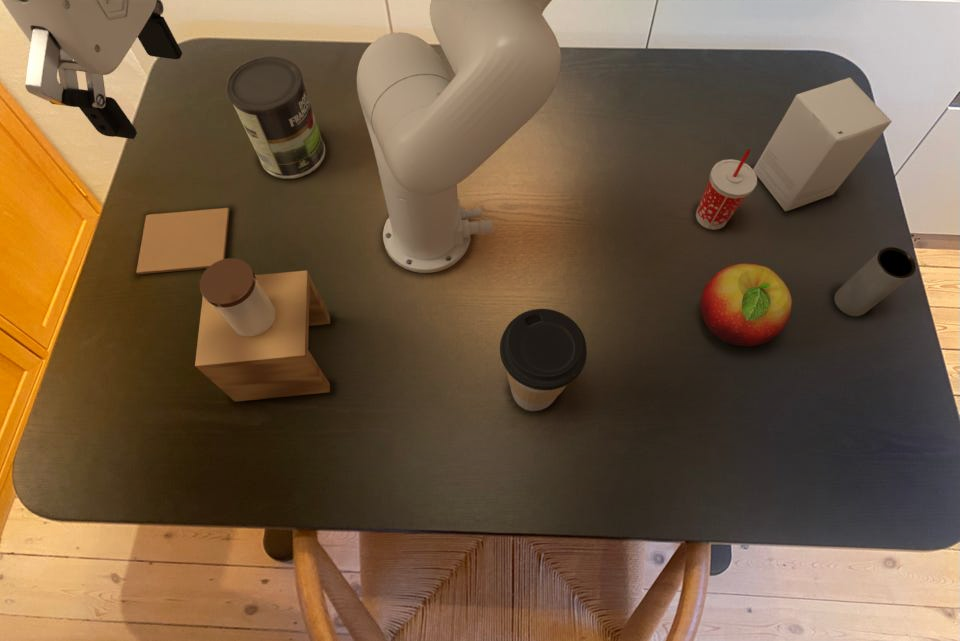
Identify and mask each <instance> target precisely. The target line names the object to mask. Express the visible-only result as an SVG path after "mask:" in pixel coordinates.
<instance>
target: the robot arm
mask: <svg viewBox="0 0 960 641" xmlns="http://www.w3.org/2000/svg"><path fill="white" fill-rule="evenodd" d="M552 1H553V0H430V2H429V19H430V23H431V26H432V30H433V32H434V35H435V36H436V39H437V41H438V43H439V45H440V47H441V49H442V52H443V54H444V56H445V57H446V60H447V61H448V63H449V66H450V67H451V69H452V71H453V73H454V75H455V76H454V77H453V78H452V77H451V74H450V73H449V71H448V69H447V67H446V65H445V63H444V61H443V60H442V59H441V57H440V55H439V54H438V53H437V51H436V50H435V49H434V48H433V46H432V45H431V44H429V42H427V41H426V40H424V39H422V38H421V37H419V36H417V35H414V34H412V33H409V32H402V31H400V32H397V31H396V32H391V33H387V34H384V35H382V36H380V37H378V38H377V39H375V40H374V41H372V42H371V44H369V45H368V47H367V48H366V49H365V51H364V52H363V53H362V56H361V57H360V60H359V63H358V67H357V71H356V90H357V96H358V100H359V103H360V107H361V111H362V115H363V117H364V120H365V124H366V127H367V130H368V135H369V137H370V141H371V145H372V148H373V152H374V156H375V161H376V164H377V169H378V174H379V178H380V183H381V187H382V192H383V196H384V200H385V205H386V210H387V213H388V218H387V219H386V220H385V224H384V226H383V232H382V240H383V244H384V248H385V251H386V253H387V255H388V256H389V257H390V258H391V260H392V261H393V262H394V263H395V264H397V265H398V266H400V267H401V268H403V269H405V270H407V271H410V272H414V273H420V274H431V273H437V272H441V271H443V270H447V269H448V268H450V267H453V266H454V265H456V264H457V263H458V262H459V261H461V259H462V258H463V257H464V255H465V254H466V252H467V250H468V248H469V246H470V243H471V235H489V234H493V222H492V219H485V220H484V219H482V218H483V212H482V207H479V208H478V207H476V208H472V209H465V207H462V208H461V202H460V199H459V195H458V193H459V192H458V185H459V184H460V183H461V182H463V181H464V180H466V179H467V178H468V177H470V176H471V175H472V174H473V173H474V172H475V171H476V170H477V169H478V168H480V166H482V165H483V164H484V163H485V162H486V161H487V160H489V159H490V158H491V157H492V155H494V154H495V153H496V152H497V151H499V149H500V148H501V147H502V146H503V145H505V143H506V142H508V141H509V140H510V139H511V138H512V137H513V136H514V135H515V134H516V133H517V132H518V131H519V130H520V129H521V128H522V127H524V125H526V124H527V123H528V122H529V121H530V120H531V119H532V118H533V117H534V116H535V115H536V114H537V113H538V112H539V111H541V108H542V107H543V106H544V105H545V104H546V103H547V101H548V100H549V99H550V97H551V95H552V93H553V91H554V89H555V88H556V85H557V83H558V80H559V78H560V74H561V69H562V53H561V48H560V43H559V42H558V39H557V37H556V34H555V33H554V31H553V30H552V28H551V26H550V24H549V22H548V21H547V19H546V18H545V17H544V15H543V13H544V11H545V10H546V8H547V7H548V5H549V4H550V3H551V2H552ZM1 2H2V3H3V5H4V7H5V8H6V9H7V12H8V13H9V14H10V15H11V17H12V19H13V20H14V21H15V23H16V24H17V26H18V27H19V29H20V30H21V31H22V33H23V34H24V36H25V37H26V38H27V39H28V41H29V42H30V48H29V55H28V60H27V61H28V62H27V69H26V76H25V89H26V91H27V92H28V93H29V94H31V95H33V96H36V97H38V98H40V99H43V100H45V101H46V102H49V103H50V104H52V105H57V106H65V107H71V108H72V107H73V108H79V110H80V111H81V112H82V114H83V115H84V116H85V117H86V119H87V120H88V121H89V122H90V124H91V125H92V126H93V127H94V128H95V130H96V131H97V132H98V133H99V134H101V135H103V136H106V137H112V138H121V139H128V140H135V138H136V136H137V134H138V132H137V129H136V127H135V126H134V125H133V122H131V121H130V119H129V117H128V116H127V114H126V113H125V111H123V109H122V107H121V106H120V105H119V103H118V102H117V100H116V98H115V99H114V97H110V96H107V95H106V88H105V81H104V76H108V75H111V74H112V73H113V72H114V71H115V70H116V69H118V67H119V66H120V65H121V63H122V62H123V60H124V59H125V57H126V55H127V54H128V53H129V51H130V49H131V48H132V47H133V45H134V43H135V42H136V40H137V39H138V40H139V43H140V44H141V46H142V47H143V49H144V51H145V52H146V54H147V55H148V56H150V57H154V58H155V57H156V58H160V59H161V58H163V59H168V60H169V59H170V60H180V59H181V57H182V55H183V52H182V48H180V45H179V44H178V42H177V40H176V38H175V36H174V35H173V31H171V29H170V27H169V25H168V23H167V21H166V19H165V17H164V16H162V15H163V13H164V3H163V1H162V0H1ZM77 72H82V73H83V72H84V74H85V81H86V88H87V89H82V88H79V79H78V74H77ZM58 77H59V78H58ZM58 79H59V80H58ZM469 219H481V220H478V221H469Z"/></svg>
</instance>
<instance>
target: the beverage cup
mask: <svg viewBox="0 0 960 641" xmlns="http://www.w3.org/2000/svg"><path fill="white" fill-rule="evenodd" d="M751 152H752V151H751V149H750V148H747V149H746V151H745V153H744V154H743V156H742V158H741V160H738V159H732V158H729V159H721V160H720V161H718V162H716V163H715V164H714V165H713V167H712V169H710V173H709V180H708V182H707V185H706V186H705V189H704V192H703V194H702V197H701V198H700V201H699V204H698V206H697V209H696V212H695V217H696V221H697V222H698V224H700V225H701V227H703V228H706V229H708V230H714V231H715V230H720V229H722V228H724V227H725V226H726V225H727V223H728V222H729V221H730V220H731V218H732V216H733V215H734V214H735V212H736V211H737V210H738V208H739V207H740V206H741V204H743V202H744V200H745V199H746V197H747V196H749V195H751V193H752V192H753V191H754V190H755V188H756V187H757V184H758V176H757V175H756V174H755V172H754V170H753V167H751V166H750V165H749V164H748V163H746V160H747V159H748V157H749V155H750V153H751Z"/></svg>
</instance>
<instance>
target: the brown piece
mask: <svg viewBox="0 0 960 641" xmlns="http://www.w3.org/2000/svg"><path fill="white" fill-rule="evenodd" d="M255 277H256V278H257V280H258V281H259V283H260V284H261V286H262V287H263V289H264V290H265V292H266V293H267V295H268V296H269V298H270V299H271V301H272V302H273V304H274V306H275V308H276V317H275V320H274V323H273V324H272V326H271V327H270V328H269V329H268V330H267V331H265V332H264V333H262V334H260V335H257V336H252V337H246V336H242V335H239V334H237V333H236V332H235V331H234V330H233V329H232V328H231V327H230V325H229V324H228V323H227V322H226V321H225V320H224V318H223V317H222V316H221V315H220V314H219V313H218V311H217V310H216V309H215V308H214V307H213V306H212V304H210V303H209V302H208V301H207V300H206V299H205V298H204V297H203V296H202V301H201V309H200V318H199V326H198V335H197V343H196V344H197V345H196V353H195V361H194V362H195V364H194V366H195V368H197V369H198V370H199V371H200V372H201V373H202V374H203V375H204V376H205V377H206V378H208V379H209V380H210V381H211V382H212V383H213V384H214V385H215V386H217V388H219V389H220V390H221V391H222V392H223V393H225V394H226V395H227V396H228V397H229V398H230V399H231V400H232V401H233V402H234V403H236V402H244V401H246V402H247V401H256V400H265V399H267V400H268V399H275V398H276V399H277V398H286V397H287V398H288V397H296V396H306V395H315V394H324V393H331V384H330V381H329V380H328V378H327V377H326V375H325V373H324V372H323V371H322V369H321V368H320V366H319V364H318V363H317V361H316V360H315V359H314V357H313V355H312V354H311V352H310V351H309V327H310V326H321V325H330V324H331V315H330V313H329V311H328V309H327V307H326V305H325V303H324V301H323V299H322V297H321V295H320V294H319V293H320V292H319V291H318V289H317V286H316V285H315V283H314V280H313V279H312V277H311V275H310V273H309V271H308V270H296V271H285V272H277V273H276V272H275V273H265V274H264V273H263V274H255Z"/></svg>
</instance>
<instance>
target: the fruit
mask: <svg viewBox="0 0 960 641" xmlns="http://www.w3.org/2000/svg"><path fill="white" fill-rule="evenodd" d="M700 297H701V298H700V302H699V304H700V312H701V317H702V319H703V322H704V323H705V326H706V327H707V328H708V330H710V332H711V333H712V334H713V335H714V336H715V337H716V338H719V339H720V340H721V341H723V342H725V343H726V344H731V345H733V346H737V347H755V346H759V345H762V344H765V343H767V342H769V341H770V340H772V339H773V338H774V337H776V336H778V335H779V334H780V333H781V331H783V328H784V327H785V326H786V324H787V323H788V322H789V319H790V315H791V311H792V304H793V300H792V295H791V292H790V289H789V288H788V286H787V285H786V283H785V281H784V280H783V279H782V278H781V277H780V276H779V275H778V274H777V273H776V272H775V271H773V270H772V269H771V268H769V267H768V266H763V265H760V264H756V263H738V264H734V265H733V264H732V265H729V266H727V267H725V268H723V269H721V270H719V271H718V272H716V273H715V274H713V276H711V278H710V279H709V280H708V282H707V283H706V285H705V286H704V288H703V291H702V294H701V296H700Z"/></svg>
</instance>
